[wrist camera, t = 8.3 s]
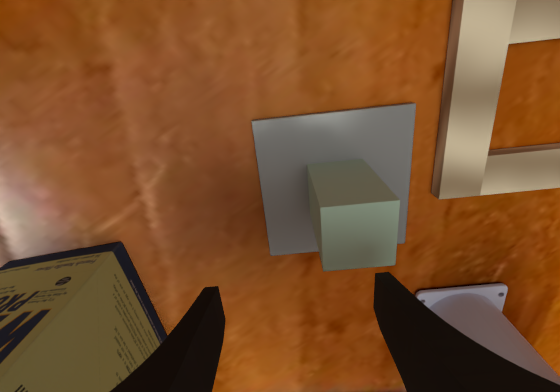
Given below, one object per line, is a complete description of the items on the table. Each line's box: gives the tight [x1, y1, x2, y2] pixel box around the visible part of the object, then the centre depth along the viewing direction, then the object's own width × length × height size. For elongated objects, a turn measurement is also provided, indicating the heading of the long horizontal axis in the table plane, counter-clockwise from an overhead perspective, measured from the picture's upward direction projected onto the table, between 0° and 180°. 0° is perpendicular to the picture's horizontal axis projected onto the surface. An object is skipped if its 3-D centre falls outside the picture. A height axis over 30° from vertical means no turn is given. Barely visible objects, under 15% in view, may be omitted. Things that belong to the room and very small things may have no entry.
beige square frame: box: [431, 0, 560, 199], centre depth 20 cm, size 13×13×1 cm
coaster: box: [252, 102, 416, 256], centre depth 23 cm, size 11×11×1 cm
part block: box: [307, 159, 400, 271], centre depth 19 cm, size 4×4×7 cm
